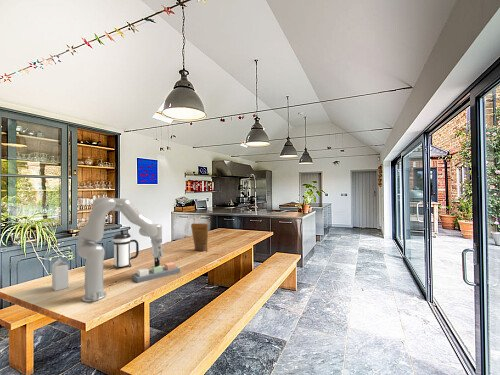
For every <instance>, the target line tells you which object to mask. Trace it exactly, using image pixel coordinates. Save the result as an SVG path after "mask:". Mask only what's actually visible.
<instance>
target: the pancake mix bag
mask: <svg viewBox="0 0 500 375" xmlns="http://www.w3.org/2000/svg"><path fill="white" fill-rule="evenodd" d="M190 227H191V234H192V240H193V245H194V251H195V250H196V252H203V251H206V252H208V251H209V250H208V239H209V237H208V235H209V232H208V230H209V224H208V223H193V222H192V223H191V224H190Z"/></svg>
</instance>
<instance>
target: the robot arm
mask: <svg viewBox="0 0 500 375" xmlns="http://www.w3.org/2000/svg"><path fill="white" fill-rule="evenodd" d="M92 207H93V208H92V209H91V210H90V213H89V215H88V220H87V224H86V225H83V226H82V227H81V228H80V229H79V232H78V236H77V237H78V238H77V254H78V256H79V257H80V258H82V259H85V264H84V295H82V297H81V300H82V302H85V303H89V302H96V301H99V300H103V299H104V298H106V296H107V293H108V292H107V291H105V290H104V282H105V281H104V260H105V252H106V251H105V249H104V247H103V246H102V245H101V244H98V243H99V242H100V241H102V239H103V238H104V232H105V220H106V217H107V215H108V214H109V213H110V212H120V213H121V214H122V215H123V216H124V217H125V219H126V220H128V221H129V223H131V224H133V225H136V226H138V227H140V228H139V230H138V233H139V235H140V236H142V237H146V238H150V245H151V255H152V256H153V261H154V266H155V267H157V266H161V265H160V264H161V263H160V261H161V258H162V257H163V256H164V252H163V251H164V250H163V230H162V229H163V226H162V224H159V223H158V224H157V223H156V224H154V222H153V221H151V220H150V219H149V218H147V217H146V216H145V215H143V213H141V212H140V211H139V210H138V209H137V208H136V207H135V205H134V204H133V203H132V202H131V201H130V200H129V199H127V198H119V197H117V198H112V197H96V198H95V199H94V200H93V202H92ZM97 242H98V243H97Z"/></svg>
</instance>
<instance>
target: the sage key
mask: <svg viewBox="0 0 500 375" xmlns="http://www.w3.org/2000/svg"><path fill="white" fill-rule="evenodd" d="M162 267H163V266H162V265H160V266H157V267H155V265H152V266H150V270H151V272H153V273H158V272H162Z"/></svg>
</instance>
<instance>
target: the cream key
mask: <svg viewBox="0 0 500 375" xmlns="http://www.w3.org/2000/svg"><path fill="white" fill-rule="evenodd" d="M149 270H150V269H148V268H147V267H142V268H138V269H136V273H137V275H138V276H139V277H141V276H146V275H149Z"/></svg>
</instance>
